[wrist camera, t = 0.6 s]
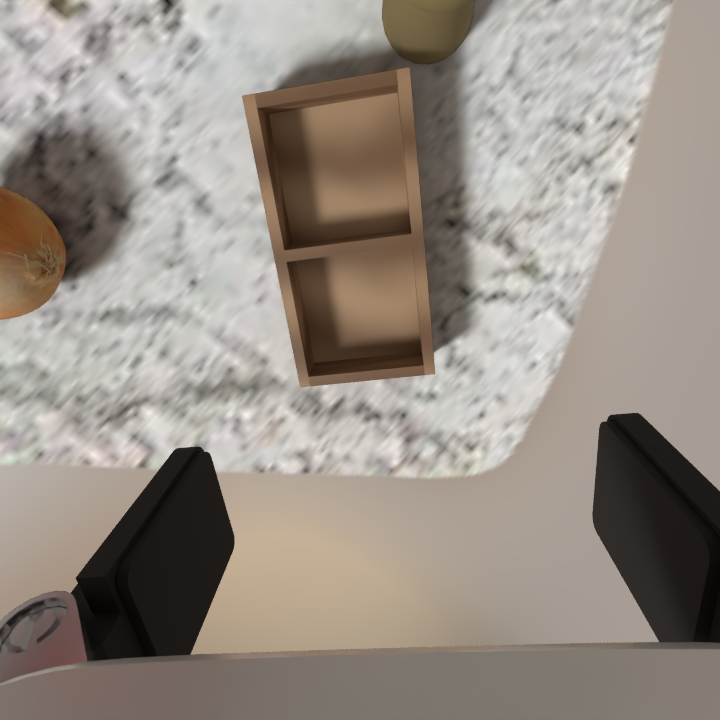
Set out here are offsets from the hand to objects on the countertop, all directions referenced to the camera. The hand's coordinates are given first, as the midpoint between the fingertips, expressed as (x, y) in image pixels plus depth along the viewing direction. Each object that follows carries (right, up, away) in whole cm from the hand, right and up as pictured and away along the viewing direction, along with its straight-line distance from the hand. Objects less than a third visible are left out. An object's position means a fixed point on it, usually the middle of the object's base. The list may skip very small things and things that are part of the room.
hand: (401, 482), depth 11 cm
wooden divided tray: (-2, +12, +25) cm, 28 cm away
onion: (-28, +13, +27) cm, 41 cm away
